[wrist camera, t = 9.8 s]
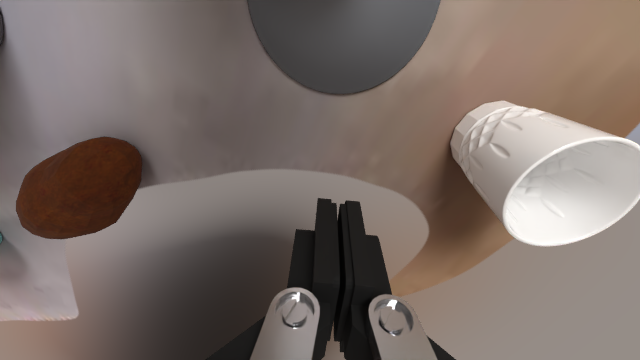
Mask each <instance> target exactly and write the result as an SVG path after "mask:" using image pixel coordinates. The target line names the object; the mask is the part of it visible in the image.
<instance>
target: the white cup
mask: <svg viewBox="0 0 640 360" xmlns="http://www.w3.org/2000/svg"><path fill="white" fill-rule="evenodd" d="M450 145H451V150H452V155H453V158H454V159H455V161H456V162H457V163H458V164H459V166H460V167H461V168H462V169H463V171H464V173H465V175H466V177H467V178H468V180H469V181H470V182H471V184H472V185H473V187H474V188H475V189H476V191H477V192H478V193H479V195H480V196H481V197H482V199H483V200H484V201H485V202H486V204H487V205H488V206H489V208H490V209H491V210H492V211H493V213H494V214H495V215H496V217H497V218H498V219H499V221H500V222H501V223H502V224H503V226H504V227H505V228H506V230H507V231H508V232H509V233H510V234H511V235H512V236H513V237H514V238H515V239H517V240H519V241H521V242H523V243H526V244H530V245H535V246H558V245H565V244H569V243H573V242H577V241H580V240H583V239H586V238H588V237H590V236H593V235H595V234H597V233H599V232H601V231H603V230H604V229H606V228H608V227H610V226H611V225H613V224H614V223H615V222H617V221H618V220H619V219H621V218H622V217H623V216H624V215H626V214H627V213H628V212H629V211H630V210H631V209H632V207H634V205H635V204H636V203H637V202H638V201H639V199H640V146H639V145H638V144H636V143H635V142H633V141H630V140H628V139H625V138H622V137H619V136H616V135H613V134H610V133H607V132H604V131H601V130H598V129H595V128H592V127H589V126H586V125H583V124H580V123H577V122H574V121H571V120H568V119H565V118H562V117H559V116H556V115H554V114H551V113H547V112H543V111H540V110H537V109H534V108H526V107H522V106H520V105H516V104H513V103H510V102H507V101H497V102H490V103H485V104H483V105H481V106H479V107H477V108H476V109H474V110H472V111H471V112H469V113H467V114H466V115H465V117H464V118H463V119H462V120H461V121H460V123H459V124H458V125H457V126H456V127H455V130H454V133H453V136H452V139H451V142H450Z"/></svg>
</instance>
